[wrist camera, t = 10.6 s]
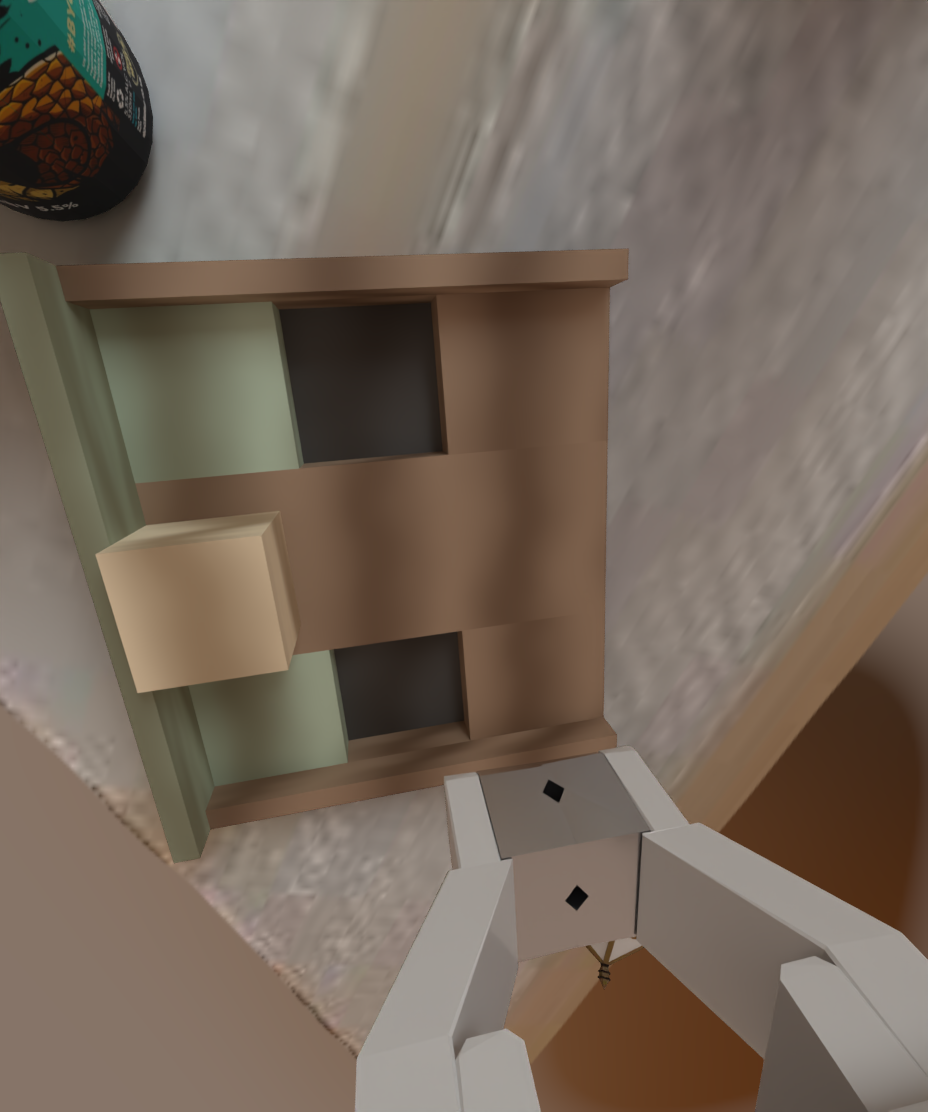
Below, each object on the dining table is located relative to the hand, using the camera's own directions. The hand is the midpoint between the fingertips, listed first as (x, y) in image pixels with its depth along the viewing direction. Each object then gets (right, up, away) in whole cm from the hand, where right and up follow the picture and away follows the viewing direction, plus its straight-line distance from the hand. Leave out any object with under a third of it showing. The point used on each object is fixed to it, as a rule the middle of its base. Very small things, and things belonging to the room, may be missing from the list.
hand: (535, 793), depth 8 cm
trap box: (-5, +4, +16) cm, 17 cm away
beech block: (-11, +3, +13) cm, 17 cm away
